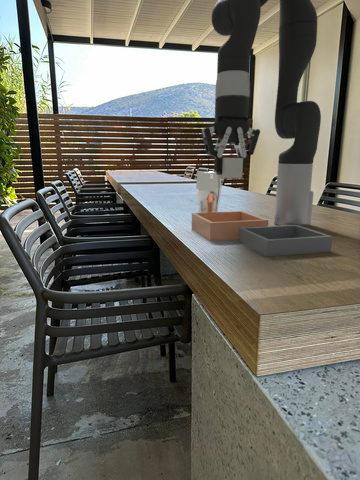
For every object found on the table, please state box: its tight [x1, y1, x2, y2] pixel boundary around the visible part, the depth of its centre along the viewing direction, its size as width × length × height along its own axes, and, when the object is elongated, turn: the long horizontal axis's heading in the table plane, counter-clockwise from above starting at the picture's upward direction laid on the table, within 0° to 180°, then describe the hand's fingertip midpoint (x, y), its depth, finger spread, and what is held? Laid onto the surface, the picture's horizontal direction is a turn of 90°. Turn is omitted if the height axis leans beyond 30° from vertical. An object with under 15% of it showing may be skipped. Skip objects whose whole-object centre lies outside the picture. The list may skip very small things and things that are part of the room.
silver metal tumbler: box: [195, 171, 222, 213], centre depth 93 cm, size 7×7×15 cm
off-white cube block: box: [217, 157, 243, 179], centre depth 78 cm, size 4×4×4 cm
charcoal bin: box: [238, 224, 333, 257], centre depth 69 cm, size 14×12×4 cm
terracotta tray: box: [191, 210, 269, 242], centre depth 81 cm, size 14×14×5 cm
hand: (229, 174), depth 78 cm, fingers closed on off-white cube block, 4 cm apart
